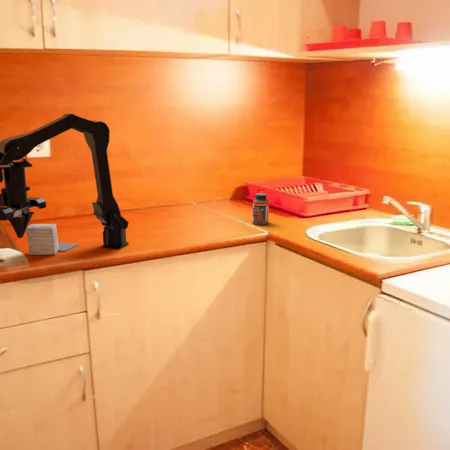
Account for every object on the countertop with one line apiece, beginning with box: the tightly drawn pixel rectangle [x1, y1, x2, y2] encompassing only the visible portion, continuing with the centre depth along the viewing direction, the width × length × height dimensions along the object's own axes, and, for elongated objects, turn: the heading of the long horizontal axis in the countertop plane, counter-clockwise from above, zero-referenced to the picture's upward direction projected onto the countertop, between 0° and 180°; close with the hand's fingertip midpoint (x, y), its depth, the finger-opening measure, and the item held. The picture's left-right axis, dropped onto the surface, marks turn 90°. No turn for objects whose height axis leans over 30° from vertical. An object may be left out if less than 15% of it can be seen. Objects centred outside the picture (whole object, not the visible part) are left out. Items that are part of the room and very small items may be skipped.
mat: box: [57, 241, 80, 253], centre depth 172 cm, size 9×8×1 cm
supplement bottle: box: [252, 192, 270, 226], centre depth 202 cm, size 6×6×11 cm
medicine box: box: [25, 223, 59, 256], centre depth 164 cm, size 8×4×9 cm, turn 92°
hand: (20, 237), depth 155 cm, fingers closed
